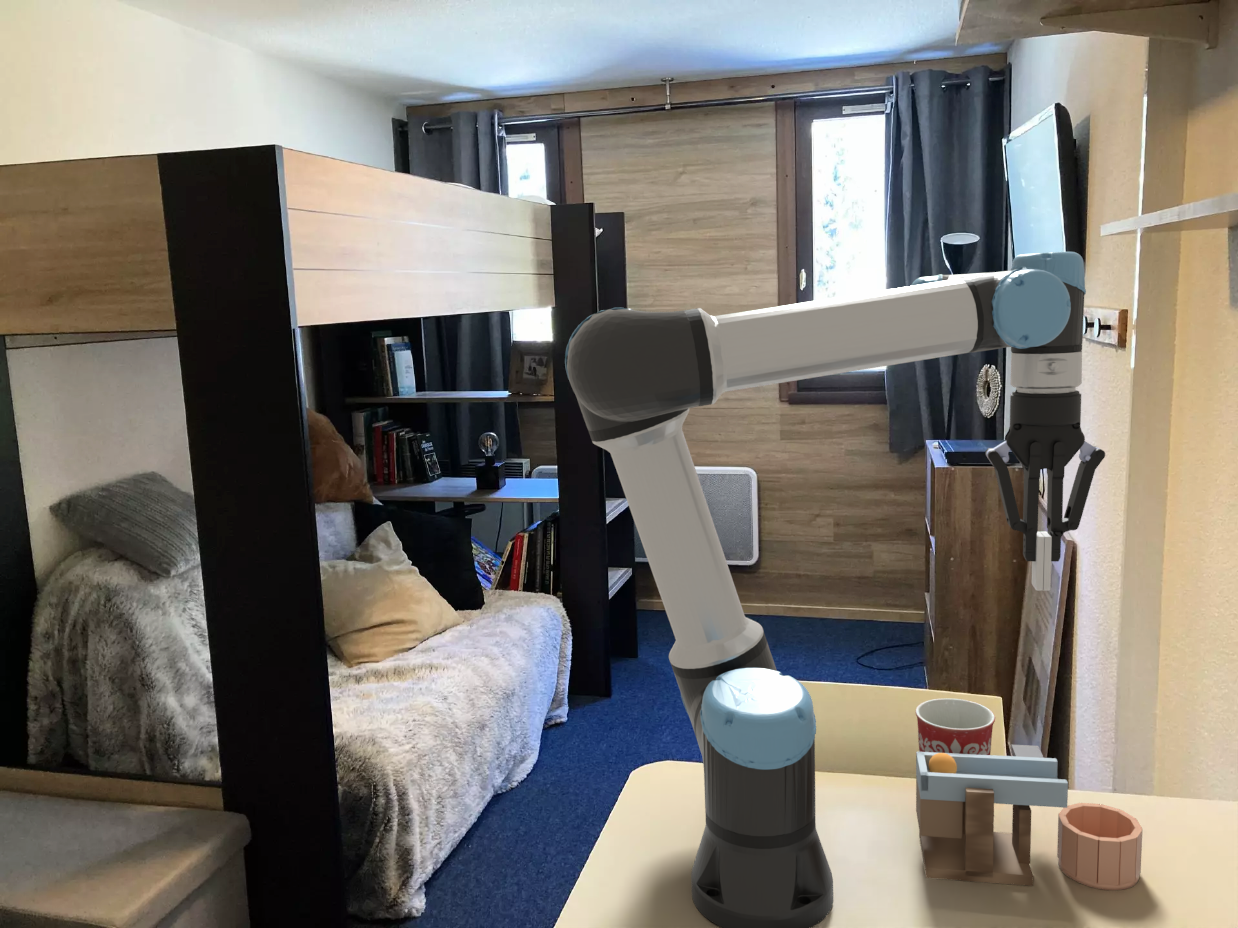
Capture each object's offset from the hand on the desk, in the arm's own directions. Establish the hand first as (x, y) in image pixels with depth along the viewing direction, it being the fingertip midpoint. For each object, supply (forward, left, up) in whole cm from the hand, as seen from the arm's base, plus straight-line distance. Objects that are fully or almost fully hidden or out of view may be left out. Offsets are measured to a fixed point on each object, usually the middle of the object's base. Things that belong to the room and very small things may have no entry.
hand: (1040, 587), depth 118 cm
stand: (-9, -13, -28) cm, 32 cm away
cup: (+4, -13, -28) cm, 31 cm away
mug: (-10, -2, -28) cm, 30 cm away
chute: (-8, -10, -24) cm, 27 cm away
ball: (-12, -13, -17) cm, 25 cm away
